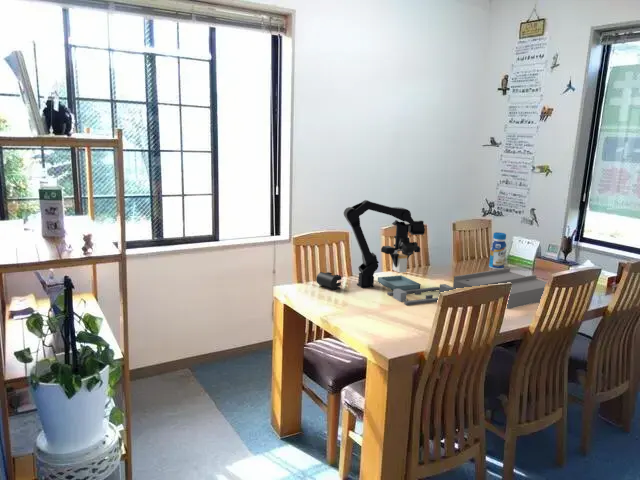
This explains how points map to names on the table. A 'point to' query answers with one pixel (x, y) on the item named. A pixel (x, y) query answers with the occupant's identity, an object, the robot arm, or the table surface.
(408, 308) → the table surface
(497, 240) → the beverage bottle
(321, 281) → the electric motor
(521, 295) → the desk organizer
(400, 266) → the fuse
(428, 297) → the fuse holder
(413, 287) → the tray
